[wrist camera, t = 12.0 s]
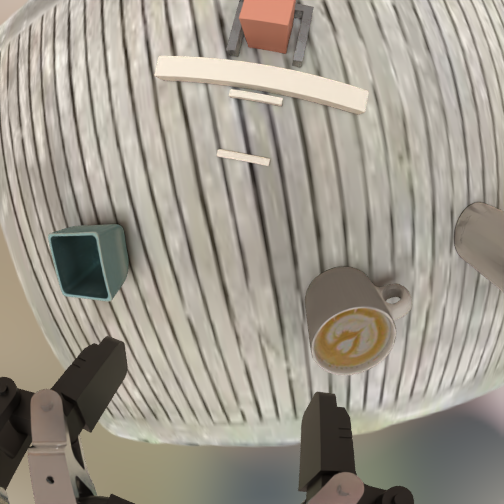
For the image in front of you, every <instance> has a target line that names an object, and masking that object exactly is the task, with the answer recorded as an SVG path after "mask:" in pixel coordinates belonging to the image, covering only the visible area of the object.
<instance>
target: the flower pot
mask: <svg viewBox="0 0 504 504" xmlns="http://www.w3.org/2000/svg"><path fill="white" fill-rule="evenodd" d="M48 240H49V245H50V249H51V254H52V258H53V262H54V266H55V270H56V274H57V278H58V281H59V285H60V288H61V291H62V293H63V295H64V296H67V297H75V298H84V299H92V300H100V301H112V299H113V298H114V296H115V295H116V293H117V292H118V290H119V289H120V288H121V286H122V285H123V283H124V281H125V279H126V277H127V273H128V254H127V248H126V242H125V235H124V229H123V228H122V226H120V225H118V224H107V225H84V226H73V227H69V228H66V229H62V230H59V231H56V232H53V233H50V234H49V235H48Z"/></svg>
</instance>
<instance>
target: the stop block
mask: <svg viewBox="0 0 504 504" xmlns="http://www.w3.org/2000/svg"><path fill="white" fill-rule="evenodd" d="M295 2H296V0H244V3H243V6H242V9H241V12H240V16H239V20H240V23H241V26H242V29H243V32H244V35H245V38H246V41H247V44H248V47H250V48H257V49H263V50H269V51H274V52H279V53H284V54H286V51H287V47H288V43H289V39H290V35H291V30H292V26H293V20H294V11H295Z"/></svg>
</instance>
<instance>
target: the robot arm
mask: <svg viewBox="0 0 504 504" xmlns="http://www.w3.org/2000/svg"><path fill="white" fill-rule="evenodd" d="M454 240H455V247H456V250H457V252H458V254H459V256H460V257H461V258H462V259H464V260H465V261H466V262H467V263H469V264H470V265H471V266H472V267H474V268H475V269H476V270H477V271H478V272H480V273H481V274H482V275H483V276H484V277H486V278H487V279H488V280H489V281H490V282H492V283H493V284H494V285H495V286H496V287H497V288H499V289H500V290H501V291H502V292H503V293H504V211H501V210H499V209H497V208H495V207H492V206H490V205H488V204H485V203H481V202H477V203H474V204H471V205H470V206H468V207H467V208H466V209H465V210H464V211H463V213H462V214H461V216H460V218H459V220H458V222H457V225H456V229H455V236H454ZM126 373H127V359H126V352H125V344H124V342H122V341H119V340H117V339H114V338H112V337H109V336H107V337H105V338H104V339H103V340H102V342H101V343H100V344H99V345H97V344H95V343H94V344H92V345H90V346H88V347H86V348H85V349H84V350H83V351H82V352H81V353H80V354H79V356H78V358H76V359H75V360H74V361H73V363H72V365H70V366H69V367H68V369H67V370H66V371H65V372H64V374H63V375H62V376H61V377H60V379H59V380H58V381H57V382H56V383H55V385H54V386H53V387H52V388H51V389H43V390H39V391H37V392H36V393H33V392H29V391H25V390H21V389H18V388H17V386H16V384H15V383H14V381H13V380H12V379H10V378H7V377H1V378H0V504H10V503H9V500H8V496H7V493H6V489H7V487H8V485H9V483H10V481H11V479H12V477H13V475H14V473H15V471H16V469H17V467H18V466H19V464H20V462H21V460H22V458H23V457H24V454H25V453H26V451H27V449H28V462H29V469H30V476H31V482H32V488H33V494H34V499H35V503H36V504H134V503H132V502H129V501H127V500H124V499H122V498H120V497H118V496H115V495H113V494H111V495H110V497H104V496H97V493H96V490H95V487H94V484H93V482H92V480H91V478H90V476H89V473H88V470H87V466H86V461H85V457H84V453H83V448H82V444H81V438H80V432H81V431H82V429H85V430H87V431H89V432H92V430H93V429H94V427H95V425H96V423H97V422H98V420H99V419H100V417H101V415H102V414H103V412H104V411H105V409H106V407H107V406H108V404H109V402H110V401H111V399H112V398H113V396H114V394H115V393H116V391H117V390H118V388H119V386H120V385H121V383H122V382H123V380H124V378H125V376H126ZM31 443H32V446H31V447H29V446H30V444H31ZM298 491H303V492H307V495H306V500H304V501H303V502H302V503H301V504H414V499H413V495H412V494H411V492H410V491H409V490H408V489H407V488H405V487H402V486H395V487H392V488H390V489H388V490H383V489H379V488H375V487H371V486H368V485H366V484H364V483H363V482H362V480H361V479H360V478H359V477H358V476H357V474H356V471H355V461H354V450H353V441H352V431H351V422H350V417H349V415H348V413H347V412H346V410H345V408H344V407H337V403H336V396H335V394H331V393H323V392H316V393H315V394H314V396H313V398H312V400H311V402H310V404H309V405H308V407H307V409H306V411H305V413H304V415H303V419H302V425H301V454H300V473H299V489H298Z"/></svg>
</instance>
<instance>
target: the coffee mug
mask: <svg viewBox="0 0 504 504" xmlns="http://www.w3.org/2000/svg"><path fill="white" fill-rule="evenodd" d="M391 297H399V298H400V300H399V301H398V302H397V303H394V304H389V303H387V302H386V300H387V299H389V298H391ZM411 307H412V299H411V295H410V293H409V291H408V290H407V289H406V288H405V287H404V286H402V285H400V284H389V285H386V286H382V287H377V286H375V285H374V284H373V283H372V282H371V281H370V279H369V278H368V276H367V275H366V274H364V273H363V272H362V271H360V270H358V269H355V268H352V267H336V268H332V269H329V270H327V271H325V272H323V273H321V274H320V275H319V276H318V277H316V278H315V279H314V280H313V282H312V283H311V284H310V286H309V288H308V290H307V292H306V296H305V308H306V315H307V323H308V331H309V339H310V347H311V353H312V357H313V359H314V361H315V362H316V364H317V365H318V366H319V367H320V368H322V369H323V370H325V371H327V372H329V373H332V374H337V375H353V374H358V373H361V372H364V371H367V370H369V369H371V368H372V367H374V366H376V365H377V364H379V363H380V362H381V361H382V360H383V359H384V358H385V357H386V356H387V355H388V354H389V352H390V351H391V349H392V347H393V345H394V343H395V339H396V326H395V323H394V321H395V320H397V319H399V318H401V317H403V316H405V315H406V314H407V313H408V312H409V311H410V309H411Z"/></svg>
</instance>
